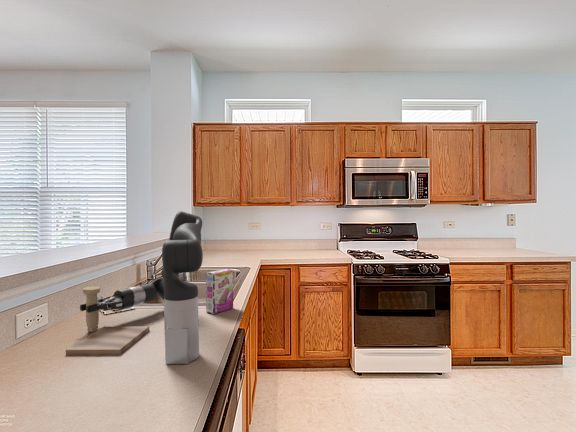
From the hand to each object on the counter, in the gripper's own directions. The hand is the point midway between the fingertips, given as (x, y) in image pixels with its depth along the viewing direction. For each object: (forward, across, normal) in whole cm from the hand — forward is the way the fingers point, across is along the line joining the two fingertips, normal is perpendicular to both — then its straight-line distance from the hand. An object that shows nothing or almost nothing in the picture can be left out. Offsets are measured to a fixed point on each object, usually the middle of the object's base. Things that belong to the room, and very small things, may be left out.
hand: (84, 308), depth 119 cm
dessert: (-23, -18, +9) cm, 31 cm away
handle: (-3, 0, +9) cm, 9 cm away
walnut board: (0, +15, +8) cm, 18 cm away
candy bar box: (-43, +22, +9) cm, 49 cm away
